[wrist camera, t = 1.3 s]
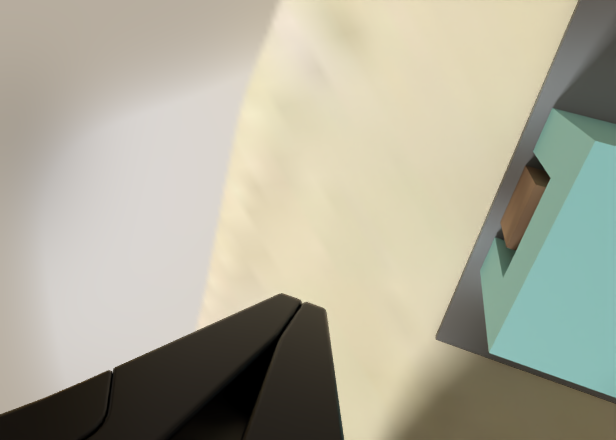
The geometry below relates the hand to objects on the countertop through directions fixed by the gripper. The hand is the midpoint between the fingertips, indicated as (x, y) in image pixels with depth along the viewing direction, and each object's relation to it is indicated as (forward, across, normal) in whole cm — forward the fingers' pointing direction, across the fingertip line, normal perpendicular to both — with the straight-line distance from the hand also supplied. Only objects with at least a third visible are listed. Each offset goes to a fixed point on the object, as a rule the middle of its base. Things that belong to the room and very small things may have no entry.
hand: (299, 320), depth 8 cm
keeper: (+12, -8, 0) cm, 14 cm away
